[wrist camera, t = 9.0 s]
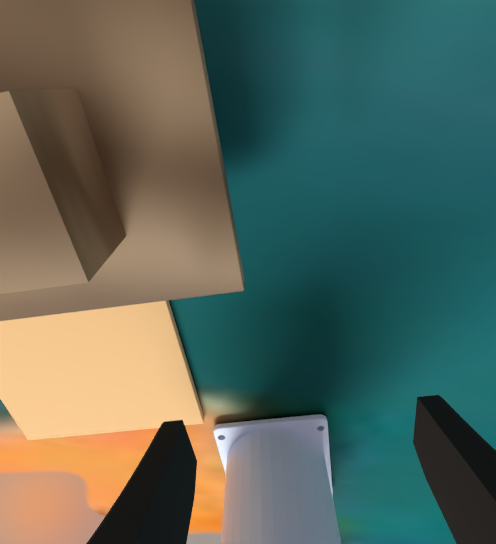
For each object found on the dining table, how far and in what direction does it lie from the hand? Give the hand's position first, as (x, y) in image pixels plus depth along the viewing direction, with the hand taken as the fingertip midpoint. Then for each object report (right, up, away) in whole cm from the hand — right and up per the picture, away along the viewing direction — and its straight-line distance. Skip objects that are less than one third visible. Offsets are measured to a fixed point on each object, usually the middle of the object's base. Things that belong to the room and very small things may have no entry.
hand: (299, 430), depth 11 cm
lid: (-8, +9, +2) cm, 12 cm away
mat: (-12, 0, +12) cm, 17 cm away
